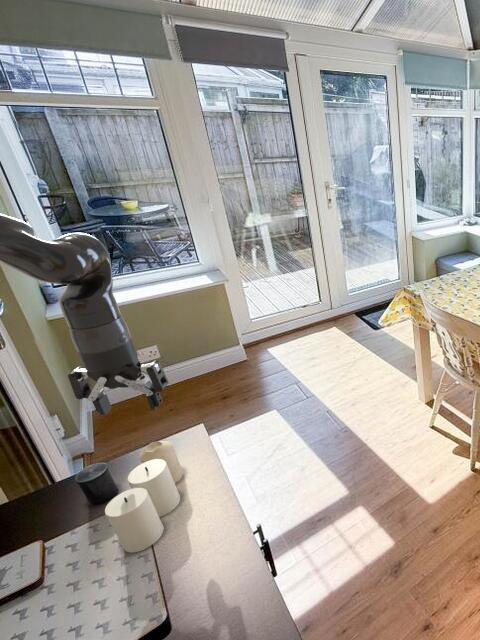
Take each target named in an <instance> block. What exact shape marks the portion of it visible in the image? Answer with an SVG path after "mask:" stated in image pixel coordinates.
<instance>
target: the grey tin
mask: <svg viewBox="0 0 480 640" xmlns="http://www.w3.org/2000/svg"><path fill="white" fill-rule="evenodd" d="M103 464H104V465H103ZM81 473H82V474H81ZM74 481H75V483H76V484H77V485H78V486H79V489H81V491H82V493H83V495H84V497H85V498H86V500H87V502H88V504H89V505H91V506H99V505H103V504H105V503H107V502H110V501H111V500H112V499H114V498H115V497H116V496H117V495H118V492H119V488H118V485H117V484H116V482H115V480H114V478H113V475H112V474H111V472H110V468H109V466H108V464H107V462H96V463H92V464H90V465H88V466H86V467H84V468H83V469H81V470H80V471H79V472H78V473H76V475H75V477H74Z"/></svg>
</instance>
